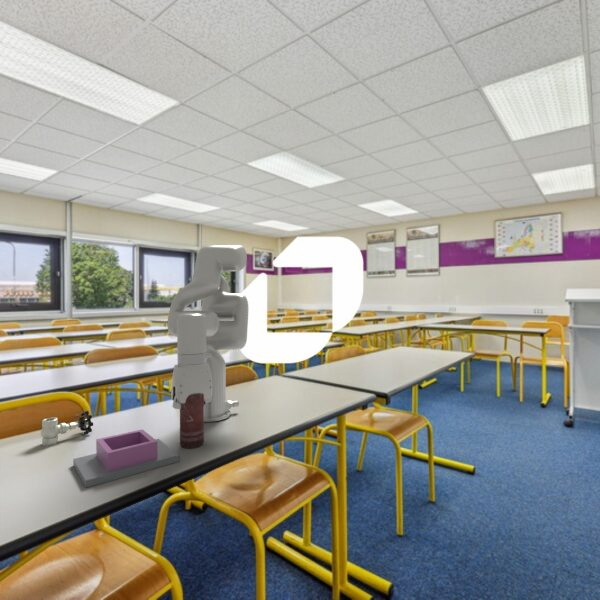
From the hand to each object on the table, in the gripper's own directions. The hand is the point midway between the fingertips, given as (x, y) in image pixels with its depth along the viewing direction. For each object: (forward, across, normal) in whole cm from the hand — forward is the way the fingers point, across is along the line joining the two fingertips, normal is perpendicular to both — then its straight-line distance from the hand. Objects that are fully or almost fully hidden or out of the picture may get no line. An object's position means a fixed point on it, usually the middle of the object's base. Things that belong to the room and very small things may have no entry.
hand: (193, 426), depth 104 cm
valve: (+5, +26, -26) cm, 37 cm away
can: (+5, 0, +1) cm, 5 cm away
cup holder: (+4, +17, +2) cm, 18 cm away
